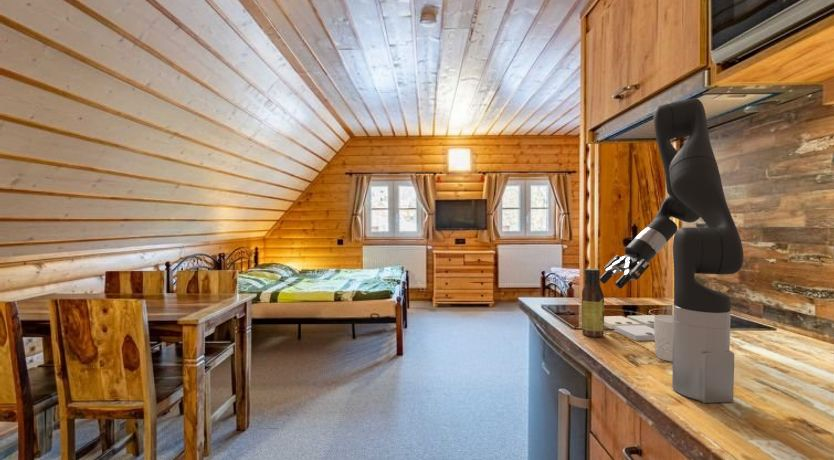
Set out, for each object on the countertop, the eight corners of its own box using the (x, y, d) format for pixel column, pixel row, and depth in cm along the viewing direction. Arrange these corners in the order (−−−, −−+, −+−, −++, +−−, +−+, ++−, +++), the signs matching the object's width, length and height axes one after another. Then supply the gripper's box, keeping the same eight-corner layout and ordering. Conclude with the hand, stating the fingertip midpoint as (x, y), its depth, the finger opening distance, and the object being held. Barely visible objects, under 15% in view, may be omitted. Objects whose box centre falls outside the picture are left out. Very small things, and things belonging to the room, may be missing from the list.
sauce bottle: (608, 338, 115) (608, 270, 114) (586, 338, 115) (587, 270, 115) (598, 331, 122) (598, 267, 121) (577, 331, 122) (578, 267, 121)
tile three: (675, 327, 127) (675, 322, 126) (646, 328, 126) (646, 322, 126) (654, 319, 136) (654, 314, 136) (626, 320, 136) (627, 315, 135)
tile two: (640, 328, 125) (640, 322, 125) (610, 329, 124) (611, 323, 124) (621, 320, 135) (621, 315, 135) (593, 320, 134) (593, 316, 134)
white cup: (690, 356, 100) (691, 317, 99) (690, 366, 93) (691, 324, 93) (654, 350, 104) (654, 313, 104) (652, 359, 98) (652, 319, 97)
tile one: (667, 339, 113) (668, 333, 113) (635, 340, 113) (635, 334, 112) (644, 330, 123) (644, 324, 123) (614, 330, 122) (614, 325, 122)
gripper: (623, 236, 126) (588, 272, 125) (653, 238, 112) (614, 279, 111) (638, 252, 127) (604, 288, 126) (670, 256, 113) (632, 297, 112)
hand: (609, 284), depth 119 cm, fingers open, 8 cm apart
